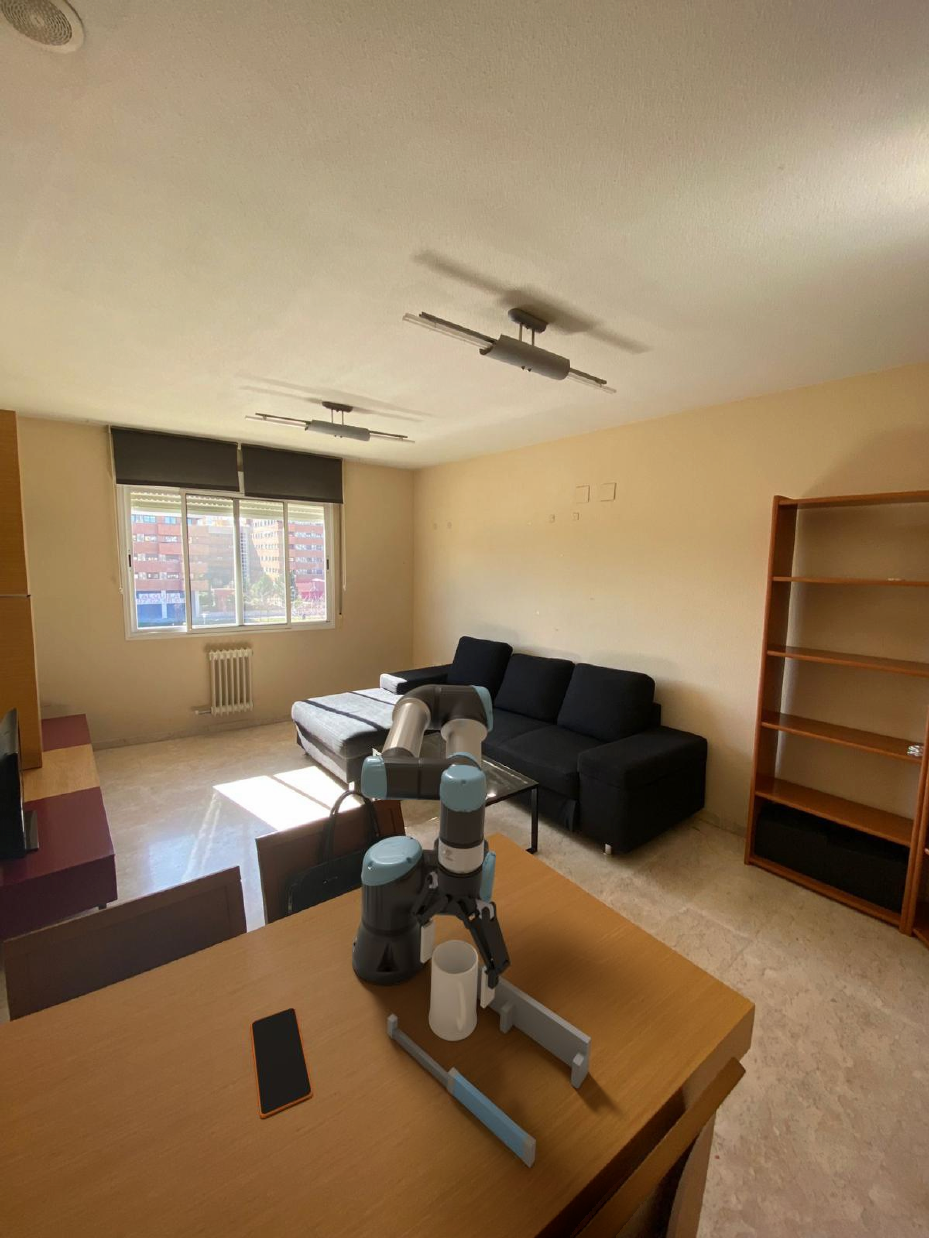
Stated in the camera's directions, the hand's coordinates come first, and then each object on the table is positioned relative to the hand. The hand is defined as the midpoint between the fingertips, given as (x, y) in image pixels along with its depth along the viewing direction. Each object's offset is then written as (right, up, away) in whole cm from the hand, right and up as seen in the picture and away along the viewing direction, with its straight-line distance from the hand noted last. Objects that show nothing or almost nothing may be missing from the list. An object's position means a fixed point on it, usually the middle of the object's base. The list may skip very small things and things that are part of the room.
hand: (455, 978), depth 86 cm
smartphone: (-28, -10, -5) cm, 30 cm away
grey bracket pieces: (+5, -10, -3) cm, 11 cm away
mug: (0, -10, +1) cm, 10 cm away
